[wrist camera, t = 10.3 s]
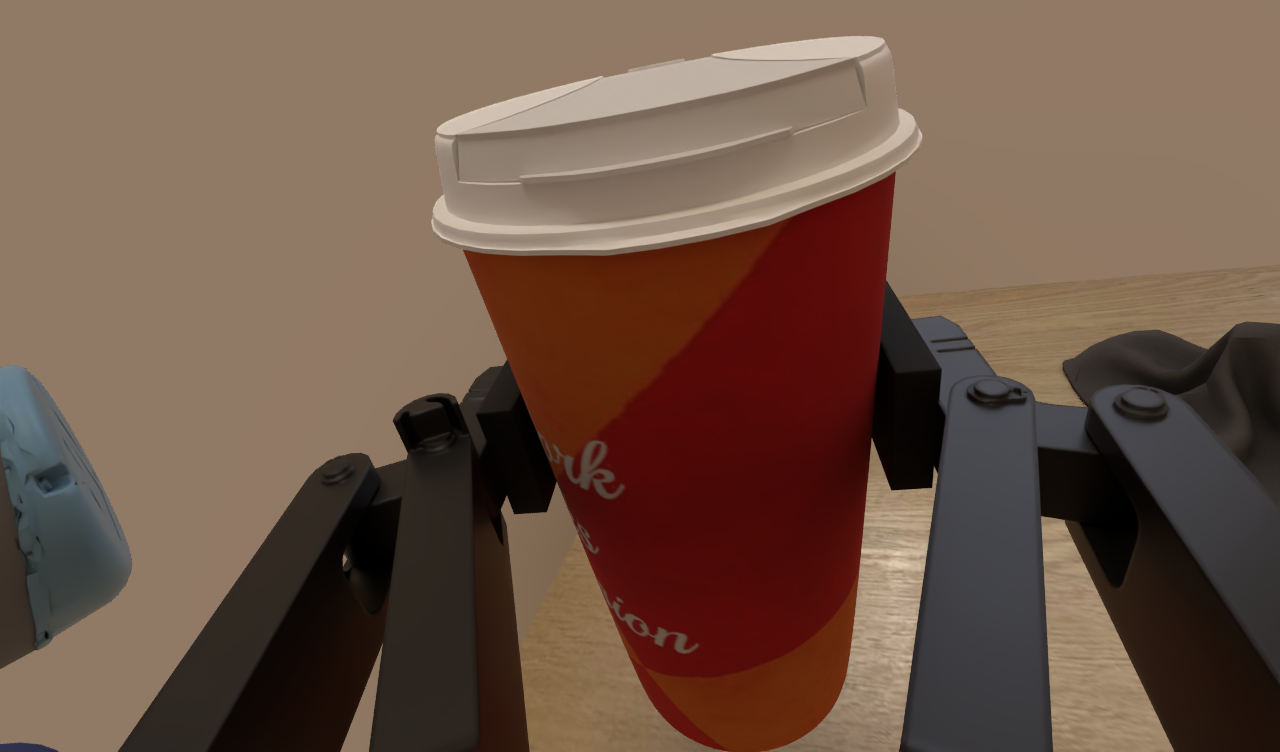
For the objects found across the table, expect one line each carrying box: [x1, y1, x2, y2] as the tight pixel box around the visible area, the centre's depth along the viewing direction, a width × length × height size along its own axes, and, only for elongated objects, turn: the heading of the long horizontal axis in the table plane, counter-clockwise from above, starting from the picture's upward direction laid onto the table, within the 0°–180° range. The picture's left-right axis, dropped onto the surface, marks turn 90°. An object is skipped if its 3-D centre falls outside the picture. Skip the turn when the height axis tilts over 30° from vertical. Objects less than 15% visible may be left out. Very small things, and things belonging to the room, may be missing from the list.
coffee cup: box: [431, 36, 922, 752], centre depth 14 cm, size 8×8×15 cm
